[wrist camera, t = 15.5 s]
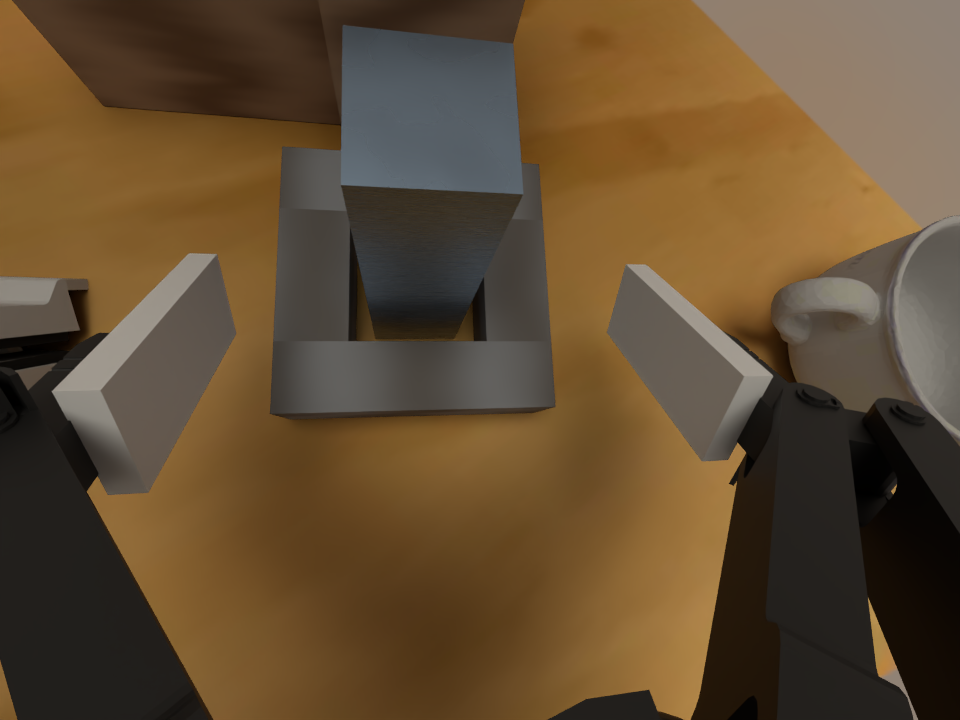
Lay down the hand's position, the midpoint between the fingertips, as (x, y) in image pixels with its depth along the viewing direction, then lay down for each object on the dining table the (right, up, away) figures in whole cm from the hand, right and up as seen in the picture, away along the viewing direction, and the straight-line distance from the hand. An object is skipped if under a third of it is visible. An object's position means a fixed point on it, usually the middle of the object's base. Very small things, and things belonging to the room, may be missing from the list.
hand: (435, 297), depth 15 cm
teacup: (+21, -2, +13) cm, 25 cm away
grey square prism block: (-2, +1, +9) cm, 9 cm away
